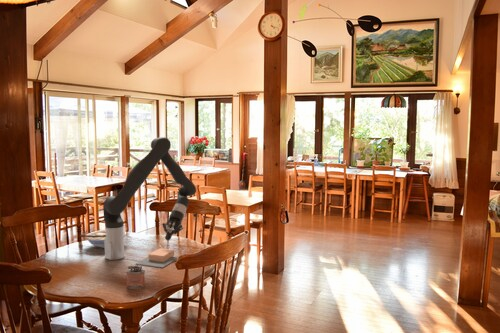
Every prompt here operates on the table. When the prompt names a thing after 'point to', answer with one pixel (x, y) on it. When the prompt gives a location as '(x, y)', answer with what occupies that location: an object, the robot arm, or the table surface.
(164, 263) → the rubber mat
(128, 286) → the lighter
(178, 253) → the table surface
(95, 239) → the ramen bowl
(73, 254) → the table surface
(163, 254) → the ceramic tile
